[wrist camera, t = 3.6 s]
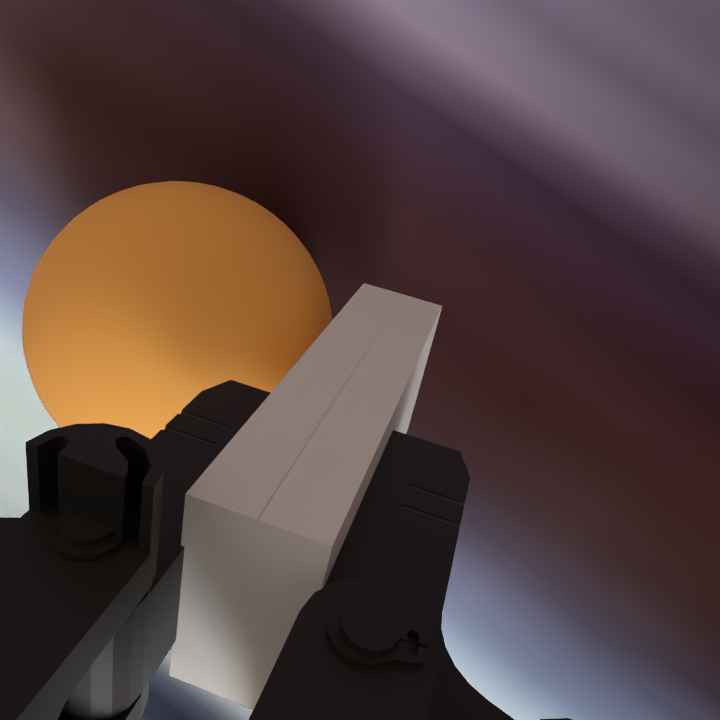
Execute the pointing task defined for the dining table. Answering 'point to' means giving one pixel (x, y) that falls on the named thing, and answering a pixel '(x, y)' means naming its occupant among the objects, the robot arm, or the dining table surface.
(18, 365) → the dining table surface
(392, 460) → the robot arm
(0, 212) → the dining table surface
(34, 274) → the ball
